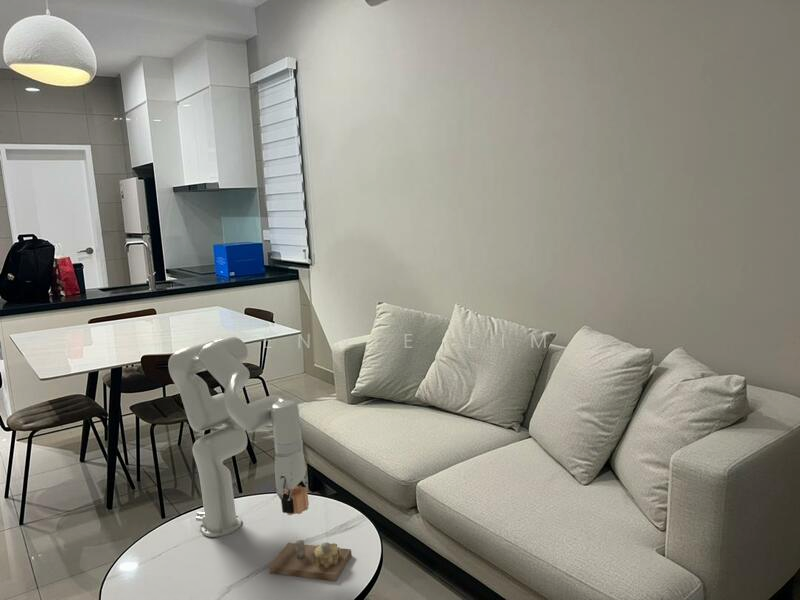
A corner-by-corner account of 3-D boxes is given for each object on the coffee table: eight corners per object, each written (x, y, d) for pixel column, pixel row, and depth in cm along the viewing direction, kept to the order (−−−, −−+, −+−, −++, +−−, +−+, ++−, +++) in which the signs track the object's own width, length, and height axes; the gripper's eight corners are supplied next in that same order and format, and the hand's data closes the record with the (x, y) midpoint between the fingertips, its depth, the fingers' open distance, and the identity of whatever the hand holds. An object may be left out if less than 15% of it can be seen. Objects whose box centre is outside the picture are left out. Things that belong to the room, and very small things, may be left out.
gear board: (269, 573, 170) (267, 551, 169) (289, 548, 181) (286, 528, 180) (335, 581, 164) (333, 559, 163) (351, 555, 176) (349, 535, 175)
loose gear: (277, 513, 169) (275, 497, 168) (289, 500, 175) (287, 484, 175) (301, 516, 166) (300, 499, 166) (313, 502, 173) (311, 486, 173)
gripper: (290, 433, 177) (296, 489, 180) (260, 458, 161) (268, 520, 164) (314, 434, 175) (320, 491, 178) (286, 459, 159) (293, 522, 161)
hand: (295, 504), depth 171 cm, fingers closed on loose gear, 7 cm apart
